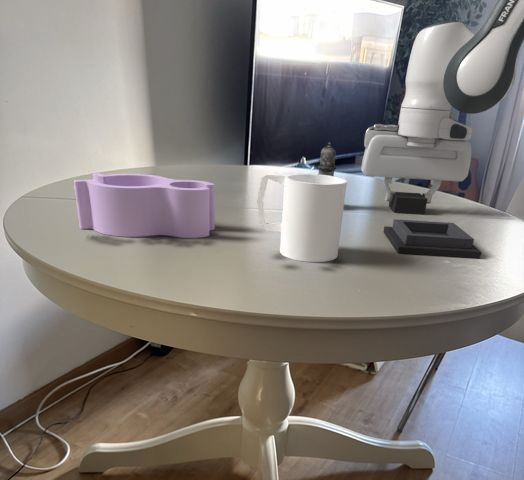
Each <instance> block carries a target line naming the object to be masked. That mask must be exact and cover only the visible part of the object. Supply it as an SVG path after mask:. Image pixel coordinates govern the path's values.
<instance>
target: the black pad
mask: <svg viewBox="0 0 524 480" xmlns="http://www.w3.org/2000/svg"><path fill="white" fill-rule="evenodd" d="M394 192H395V196H394V201H388V207H389V209H390V210H391V211H392V212H393V213H395V214H410V215H425V214H426V208H427V205H428V204H427V200H428V199H427V198H426V197H424V196H423V193H420V192H409V191H408V192H407V191H394Z"/></svg>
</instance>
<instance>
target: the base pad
mask: <svg viewBox="0 0 524 480" xmlns="http://www.w3.org/2000/svg"><path fill="white" fill-rule="evenodd" d="M392 221H393V222H392V226H384V227H383V234H384V235H385V237H386V238H387V240H388V241H389V242H390V244H391V245H392V247H393V248H394V250H395V252H396V253H397V254H400V255H401V254H403V255H417V256H433V257H434V256H435V257H450V258H451V257H453V258H464V259H465V258H468V259H481V256H482V253H483V252H482V251H481V249H479V248H477V246H476V245H474V242H475V238H474V237H472V235H470V234H469V233H467V232H466V231H464V230H463V229H462V228H461V227H459V226H458V225H457V224H455V223H454V222H447V221H446V222H444V221H427V220H412V219H393V220H392Z"/></svg>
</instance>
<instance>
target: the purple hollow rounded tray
mask: <svg viewBox="0 0 524 480" xmlns="http://www.w3.org/2000/svg"><path fill="white" fill-rule="evenodd" d="M73 188H74V195H75V196H74V197H75V202H76V203H75V204H76V211H77V218H78V226H79V229H81V230H88V229H92V230H94V231H95V232H97V233H99V234H102V235H105V236H113V237H121V238H122V237H123V238H132V237H133V238H135V237H136V238H137V237H138V238H139V237H152V236H168V237H169V236H170V237H175V238H181V239H198V238H199V239H201V238H206V237H210V231H214V230H215V217H216V216H215V213H216V212H215V211H216V210H215V197H216V196H215V192H216V191H215V189H216V187H215V183H213V182H210V181H203V180H195V179H194V180H193V179H173V178H169V177H164V176H161V175H156V174H155V175H154V174H144V173H109V174H103V173H99V172H97V173H92V179H74V180H73Z"/></svg>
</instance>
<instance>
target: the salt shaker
mask: <svg viewBox="0 0 524 480" xmlns="http://www.w3.org/2000/svg"><path fill="white" fill-rule="evenodd" d="M331 145H332V144H331V141H328V143H327V145H326V146H325V147H323V148H322V149H321V150H320V158H319V165H318V166H317V169H318V175H328V176H334V177H335V170H337V167H336V166H335V164H336V155H337V151H336V149H335V148H334V147H332V146H331Z"/></svg>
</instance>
